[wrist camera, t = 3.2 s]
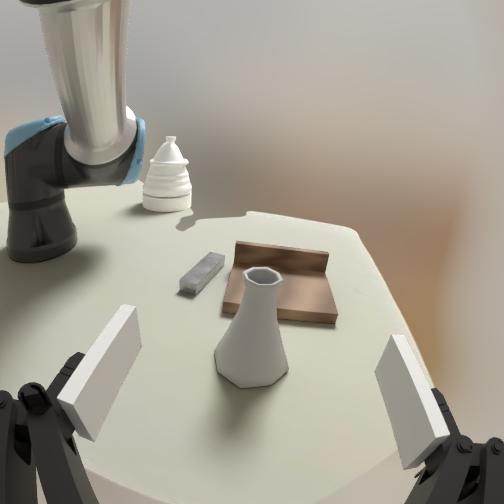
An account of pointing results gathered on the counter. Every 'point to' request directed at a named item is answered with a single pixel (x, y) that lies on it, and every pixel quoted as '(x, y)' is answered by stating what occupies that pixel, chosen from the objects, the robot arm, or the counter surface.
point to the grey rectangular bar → (201, 273)
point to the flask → (254, 334)
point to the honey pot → (167, 180)
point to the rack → (286, 281)
